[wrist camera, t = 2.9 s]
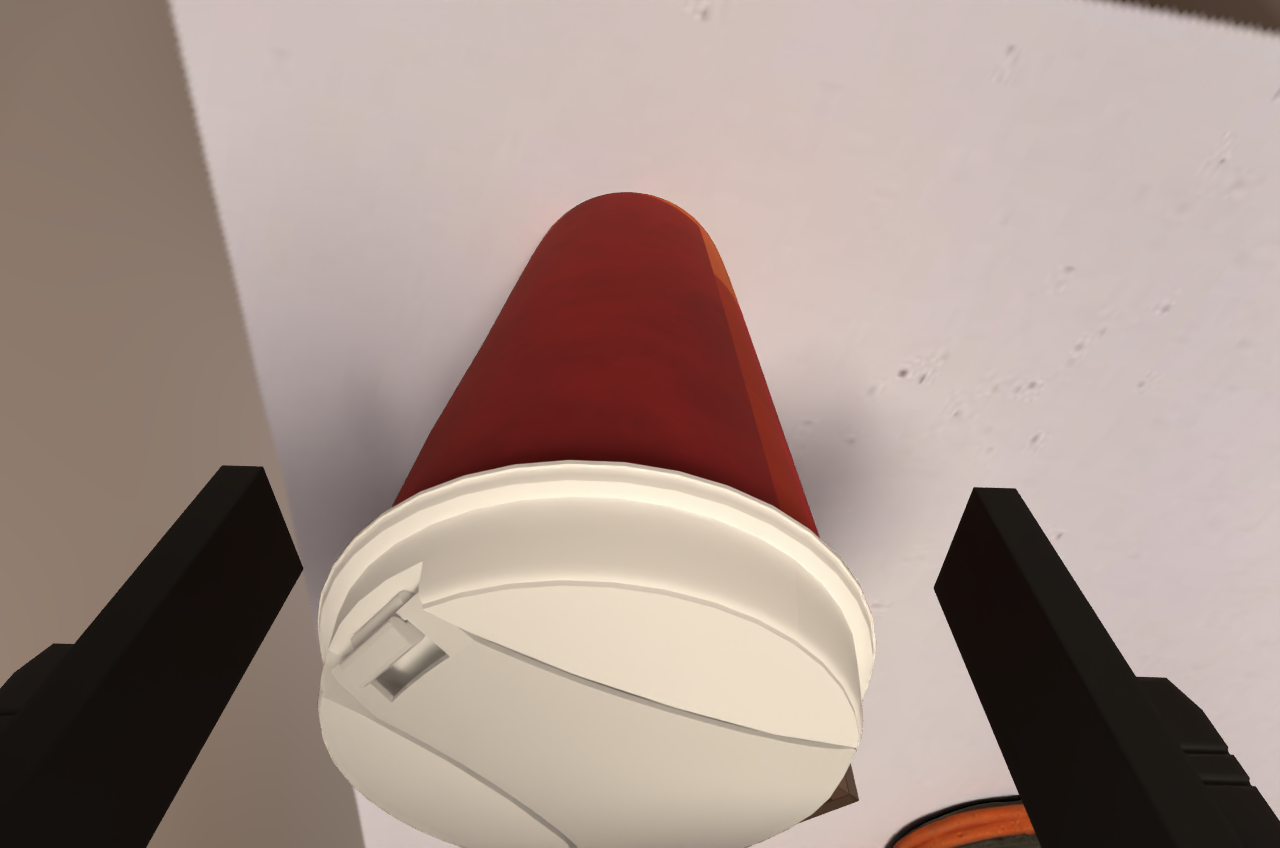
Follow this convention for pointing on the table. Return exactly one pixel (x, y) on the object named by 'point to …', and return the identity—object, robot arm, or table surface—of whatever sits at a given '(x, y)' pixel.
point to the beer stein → (976, 829)
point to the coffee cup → (600, 576)
